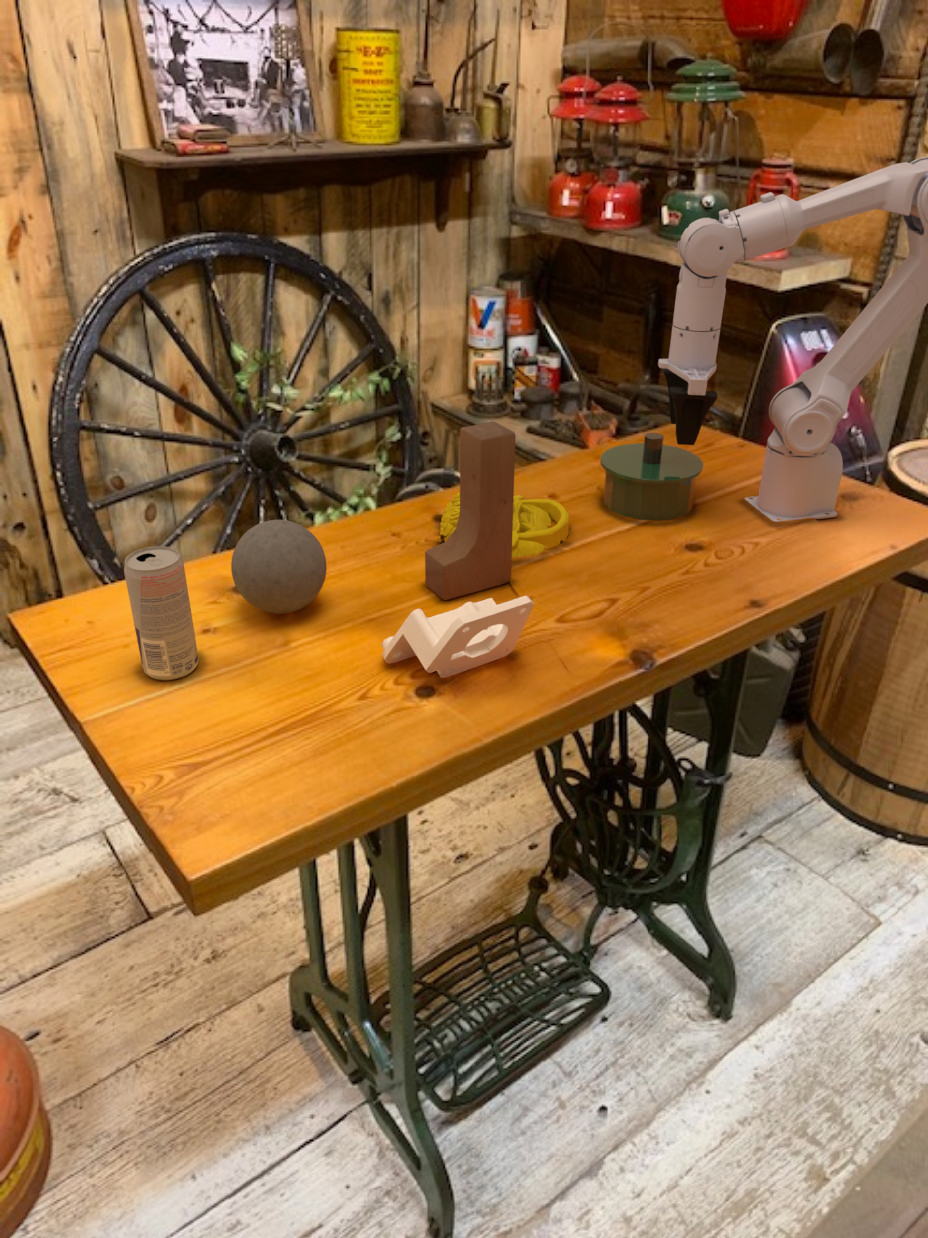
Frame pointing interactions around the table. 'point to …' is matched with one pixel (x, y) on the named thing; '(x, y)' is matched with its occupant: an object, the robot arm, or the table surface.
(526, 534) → the door knocker
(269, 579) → the decorative ball
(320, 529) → the table surface
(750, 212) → the robot arm
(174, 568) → the energy drink
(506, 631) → the mounting bracket
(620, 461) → the lid
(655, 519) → the pot
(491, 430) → the wooden block
